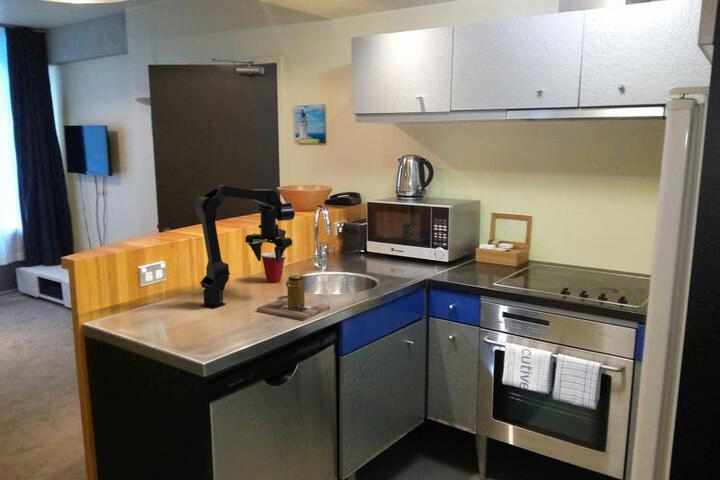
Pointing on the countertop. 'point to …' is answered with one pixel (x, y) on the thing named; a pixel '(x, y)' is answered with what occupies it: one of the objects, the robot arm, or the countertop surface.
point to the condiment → (296, 294)
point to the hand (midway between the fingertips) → (268, 262)
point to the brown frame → (276, 310)
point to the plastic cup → (272, 267)
